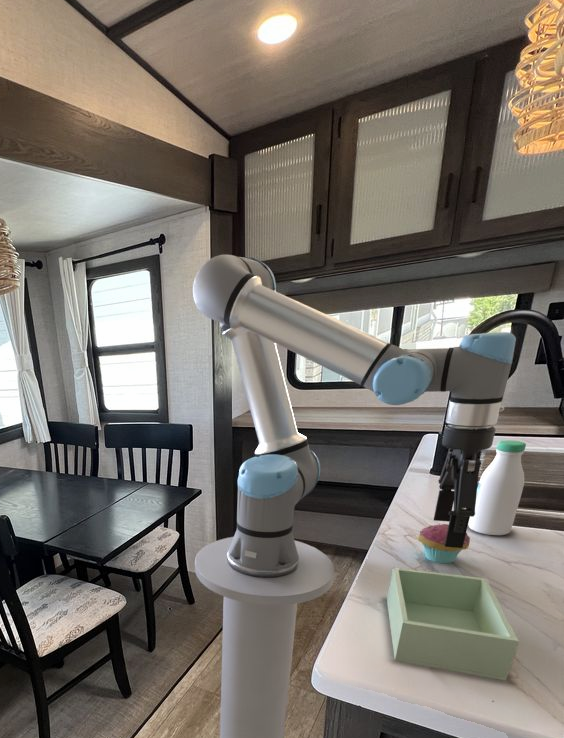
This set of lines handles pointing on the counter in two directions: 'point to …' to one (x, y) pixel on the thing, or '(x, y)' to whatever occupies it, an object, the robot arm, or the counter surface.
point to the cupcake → (439, 544)
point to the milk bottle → (499, 491)
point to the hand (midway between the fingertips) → (446, 532)
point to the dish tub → (449, 623)
